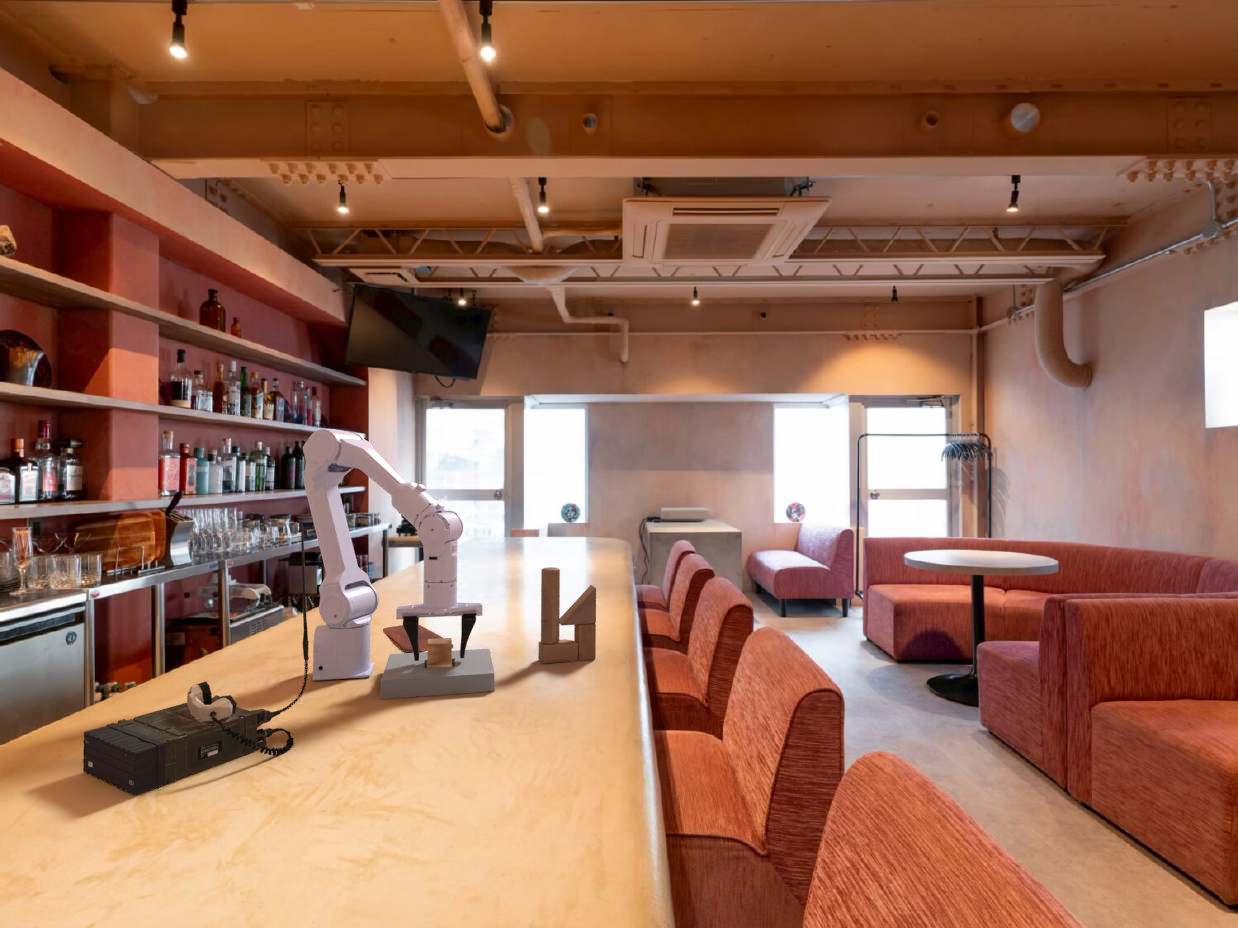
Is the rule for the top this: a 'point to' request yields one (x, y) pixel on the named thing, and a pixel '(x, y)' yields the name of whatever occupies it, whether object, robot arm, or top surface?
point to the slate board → (437, 675)
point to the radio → (182, 736)
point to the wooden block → (566, 622)
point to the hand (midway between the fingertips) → (439, 657)
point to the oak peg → (439, 653)
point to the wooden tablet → (403, 640)
